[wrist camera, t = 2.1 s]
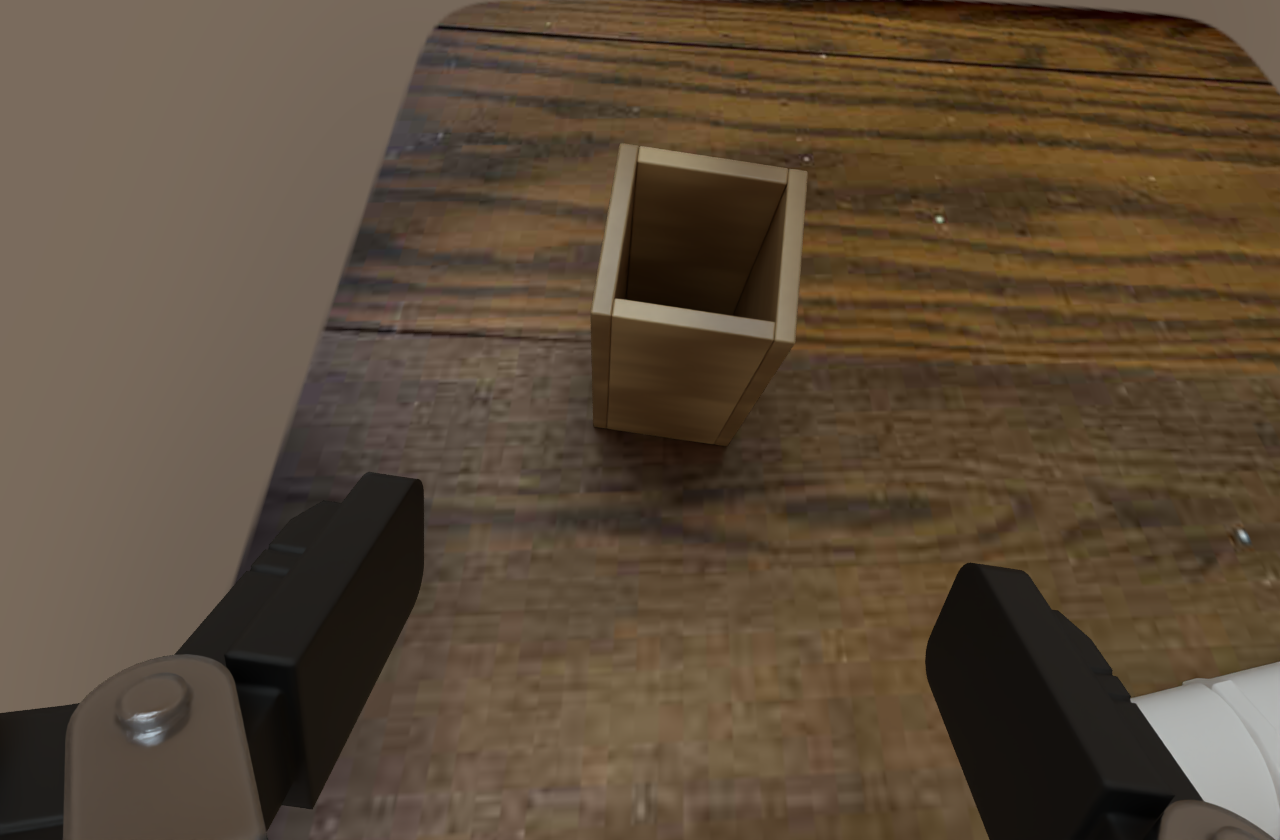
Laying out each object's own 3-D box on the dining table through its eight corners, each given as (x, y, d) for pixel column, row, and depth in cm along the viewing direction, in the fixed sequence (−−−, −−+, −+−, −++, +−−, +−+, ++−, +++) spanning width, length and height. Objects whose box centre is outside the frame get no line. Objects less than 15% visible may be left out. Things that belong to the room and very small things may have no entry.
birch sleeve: (593, 427, 25) (590, 313, 16) (612, 305, 26) (620, 141, 18) (727, 446, 25) (795, 343, 16) (740, 324, 26) (808, 170, 18)
